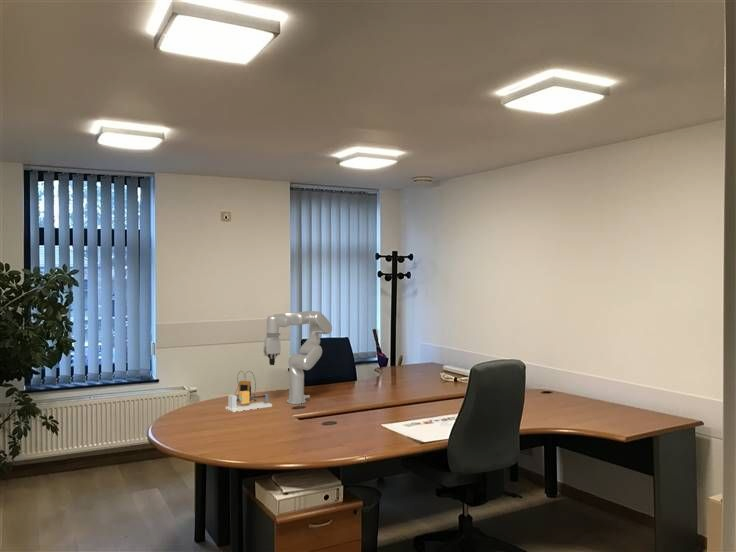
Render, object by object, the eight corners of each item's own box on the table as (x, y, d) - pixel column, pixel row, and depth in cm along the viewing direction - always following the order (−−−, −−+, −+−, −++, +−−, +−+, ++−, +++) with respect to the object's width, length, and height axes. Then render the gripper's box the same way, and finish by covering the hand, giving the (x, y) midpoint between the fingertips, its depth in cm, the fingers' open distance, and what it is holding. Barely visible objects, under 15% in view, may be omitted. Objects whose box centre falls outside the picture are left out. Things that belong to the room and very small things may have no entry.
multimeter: (258, 398, 390) (259, 369, 390) (254, 402, 381) (255, 371, 380) (237, 398, 392) (238, 368, 392) (232, 401, 382) (233, 370, 382)
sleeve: (246, 401, 365) (246, 390, 365) (249, 402, 362) (249, 391, 362) (239, 402, 362) (239, 391, 362) (242, 403, 359) (242, 392, 359)
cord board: (264, 403, 377) (264, 389, 377) (272, 406, 369) (272, 392, 369) (225, 409, 360) (225, 394, 360) (233, 412, 352) (233, 397, 352)
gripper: (279, 334, 373) (279, 363, 373) (259, 335, 363) (258, 365, 363) (286, 335, 367) (285, 364, 367) (265, 336, 358) (264, 366, 358)
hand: (271, 364), depth 365 cm, fingers closed
